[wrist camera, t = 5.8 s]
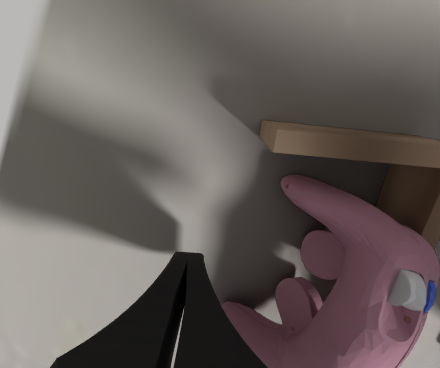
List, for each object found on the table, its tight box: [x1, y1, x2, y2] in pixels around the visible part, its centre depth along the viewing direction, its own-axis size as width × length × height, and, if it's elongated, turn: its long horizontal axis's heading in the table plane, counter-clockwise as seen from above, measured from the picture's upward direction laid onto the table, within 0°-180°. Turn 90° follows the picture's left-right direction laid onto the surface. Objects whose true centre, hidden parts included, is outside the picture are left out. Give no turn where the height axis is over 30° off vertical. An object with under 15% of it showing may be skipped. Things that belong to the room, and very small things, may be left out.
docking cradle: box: [259, 120, 440, 250], centre depth 13 cm, size 7×15×3 cm, turn 174°
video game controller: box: [221, 174, 440, 368], centre depth 12 cm, size 10×5×7 cm, turn 159°
